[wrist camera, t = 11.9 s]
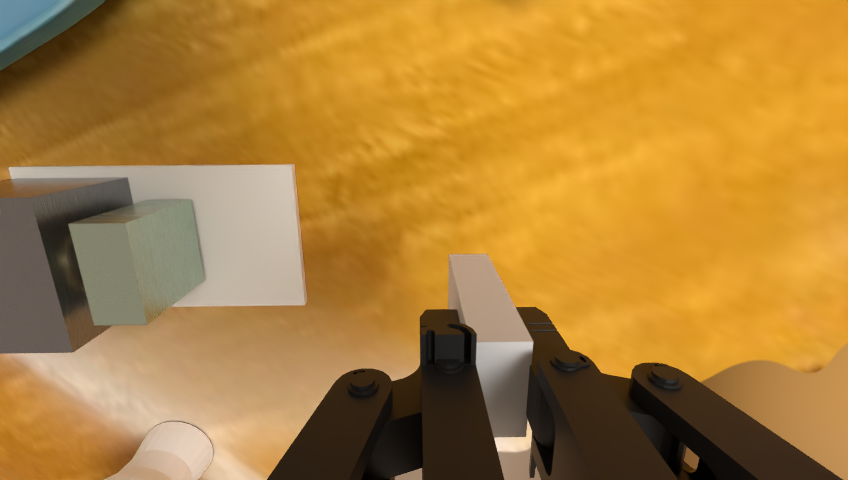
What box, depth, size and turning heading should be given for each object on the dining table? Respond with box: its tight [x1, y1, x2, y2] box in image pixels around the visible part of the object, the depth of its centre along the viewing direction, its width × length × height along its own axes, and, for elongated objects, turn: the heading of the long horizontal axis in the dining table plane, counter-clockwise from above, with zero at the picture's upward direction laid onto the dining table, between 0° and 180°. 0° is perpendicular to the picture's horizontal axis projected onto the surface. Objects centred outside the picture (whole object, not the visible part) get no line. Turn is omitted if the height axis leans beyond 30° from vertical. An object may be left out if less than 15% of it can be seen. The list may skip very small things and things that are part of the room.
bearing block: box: [0, 177, 133, 353], centre depth 35 cm, size 10×12×10 cm
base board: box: [8, 164, 307, 307], centre depth 40 cm, size 26×14×1 cm, turn 90°
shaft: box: [68, 199, 205, 325], centre depth 35 cm, size 18×8×9 cm, turn 90°
